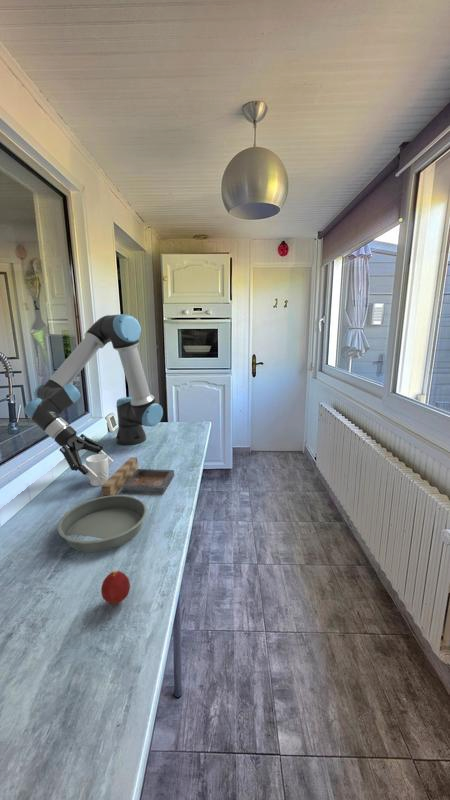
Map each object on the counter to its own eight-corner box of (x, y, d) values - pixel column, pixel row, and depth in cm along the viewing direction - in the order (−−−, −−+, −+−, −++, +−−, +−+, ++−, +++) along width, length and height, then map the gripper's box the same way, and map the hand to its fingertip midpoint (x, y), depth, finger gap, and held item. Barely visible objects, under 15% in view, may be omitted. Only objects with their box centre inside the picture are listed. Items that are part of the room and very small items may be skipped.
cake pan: (63, 516, 106) (61, 503, 105) (142, 501, 115) (141, 489, 114) (54, 567, 84) (52, 551, 83) (153, 543, 92) (152, 529, 91)
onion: (107, 593, 75) (103, 561, 73) (133, 590, 75) (130, 559, 74) (99, 614, 69) (95, 581, 68) (128, 612, 70) (125, 579, 68)
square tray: (137, 474, 135) (137, 469, 135) (174, 475, 133) (174, 470, 133) (123, 492, 120) (122, 486, 120) (163, 494, 119) (163, 487, 118)
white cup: (113, 477, 133) (111, 454, 130) (104, 487, 125) (102, 462, 123) (94, 477, 133) (92, 453, 131) (84, 486, 126) (81, 461, 124)
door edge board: (131, 468, 141) (130, 457, 140) (138, 468, 141) (137, 457, 140) (102, 499, 116) (101, 486, 115) (111, 500, 115) (109, 486, 114)
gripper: (73, 429, 139) (111, 463, 141) (34, 451, 115) (80, 492, 117) (84, 416, 137) (122, 452, 139) (46, 436, 113) (93, 479, 115)
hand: (103, 470), depth 128 cm, fingers open, 13 cm apart
